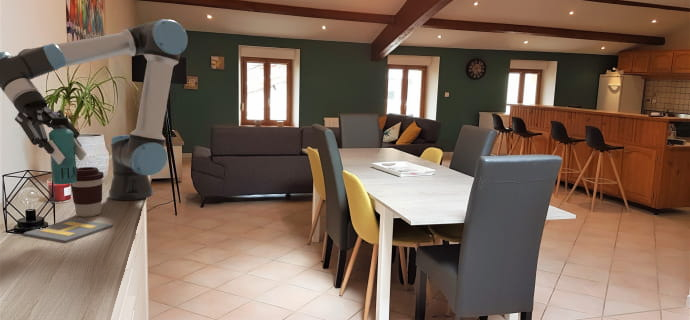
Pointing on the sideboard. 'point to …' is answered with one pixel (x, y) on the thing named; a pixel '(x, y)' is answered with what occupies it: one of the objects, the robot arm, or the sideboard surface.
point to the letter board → (68, 230)
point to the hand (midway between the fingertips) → (72, 158)
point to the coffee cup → (87, 191)
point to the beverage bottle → (65, 144)
